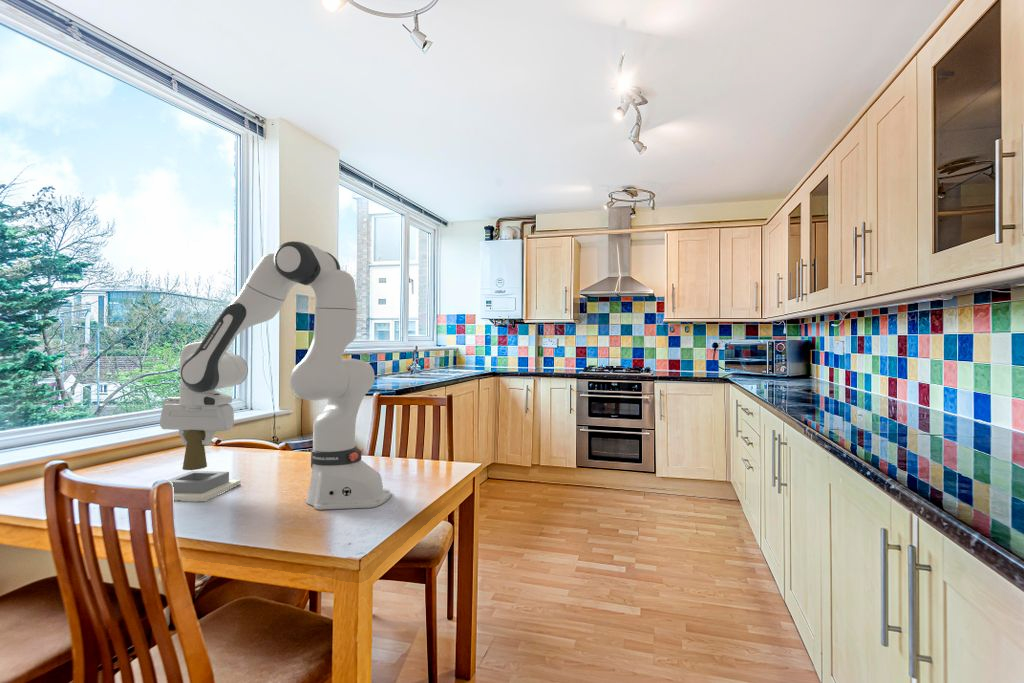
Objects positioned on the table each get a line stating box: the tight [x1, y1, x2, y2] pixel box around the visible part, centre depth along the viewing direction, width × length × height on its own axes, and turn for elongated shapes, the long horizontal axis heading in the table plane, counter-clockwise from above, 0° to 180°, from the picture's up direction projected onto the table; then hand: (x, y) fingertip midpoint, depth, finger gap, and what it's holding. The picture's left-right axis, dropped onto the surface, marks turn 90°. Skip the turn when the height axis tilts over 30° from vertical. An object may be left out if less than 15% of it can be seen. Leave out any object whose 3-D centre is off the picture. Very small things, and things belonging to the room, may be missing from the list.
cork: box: [182, 430, 208, 471], centre depth 141 cm, size 6×6×11 cm
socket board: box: [168, 470, 241, 502], centre depth 141 cm, size 16×16×4 cm
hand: (196, 445), depth 141 cm, fingers closed on cork, 4 cm apart
